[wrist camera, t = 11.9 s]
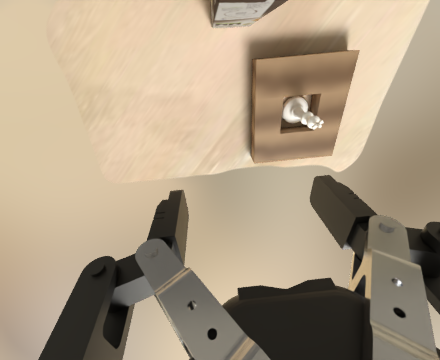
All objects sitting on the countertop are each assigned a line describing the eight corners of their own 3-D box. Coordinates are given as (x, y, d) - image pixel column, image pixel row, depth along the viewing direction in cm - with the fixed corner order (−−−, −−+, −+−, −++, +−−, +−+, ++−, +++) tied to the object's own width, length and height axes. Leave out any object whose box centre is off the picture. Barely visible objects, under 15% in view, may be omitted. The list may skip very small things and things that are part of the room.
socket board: (252, 59, 32) (256, 59, 30) (347, 50, 33) (359, 50, 30) (251, 156, 42) (254, 163, 40) (324, 149, 43) (331, 155, 40)
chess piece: (311, 111, 38) (342, 127, 29) (289, 127, 39) (312, 148, 31) (299, 90, 36) (329, 101, 27) (276, 108, 37) (297, 125, 29)
